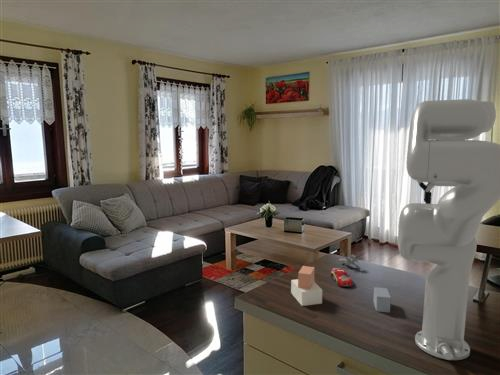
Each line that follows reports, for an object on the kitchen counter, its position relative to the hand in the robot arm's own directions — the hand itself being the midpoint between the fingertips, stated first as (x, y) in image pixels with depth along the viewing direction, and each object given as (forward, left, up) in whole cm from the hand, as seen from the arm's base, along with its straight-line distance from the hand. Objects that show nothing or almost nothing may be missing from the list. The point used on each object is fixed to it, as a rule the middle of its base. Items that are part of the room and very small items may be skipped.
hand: (445, 205), depth 110 cm
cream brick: (0, +41, -34) cm, 53 cm away
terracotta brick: (0, +41, -29) cm, 50 cm away
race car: (+17, +29, -34) cm, 47 cm away
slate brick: (-2, +17, -34) cm, 38 cm away
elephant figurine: (+32, +26, -34) cm, 53 cm away
